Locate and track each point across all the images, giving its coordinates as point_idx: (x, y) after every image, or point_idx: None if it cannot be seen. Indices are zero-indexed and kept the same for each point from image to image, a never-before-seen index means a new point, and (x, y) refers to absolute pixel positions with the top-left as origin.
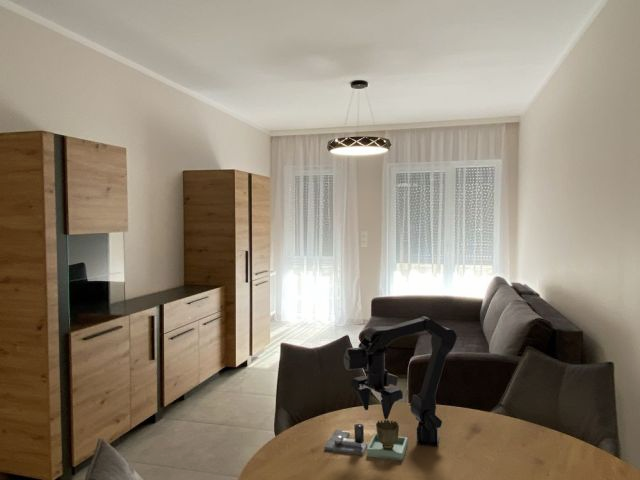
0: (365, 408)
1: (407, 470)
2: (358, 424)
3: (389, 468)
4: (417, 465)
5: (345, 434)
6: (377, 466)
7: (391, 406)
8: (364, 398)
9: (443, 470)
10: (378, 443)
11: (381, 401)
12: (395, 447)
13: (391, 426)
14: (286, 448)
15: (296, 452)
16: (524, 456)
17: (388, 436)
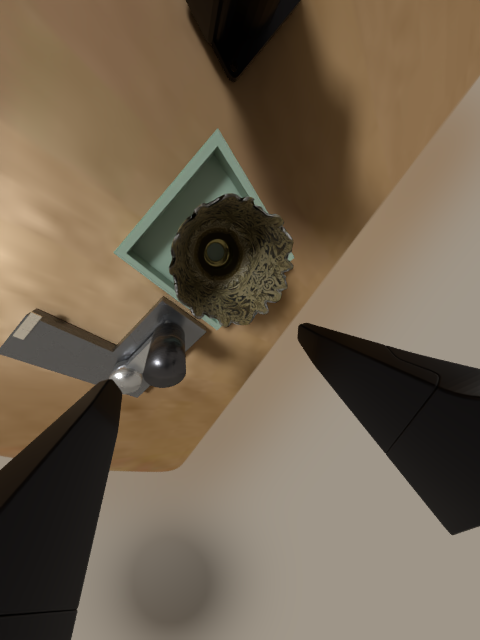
0: (119, 409)
1: (315, 269)
2: (151, 372)
3: (284, 300)
4: (319, 230)
5: (58, 335)
6: (263, 318)
7: (422, 365)
8: (68, 534)
9: (378, 183)
10: (169, 261)
11: (442, 509)
12: None
13: (200, 215)
14: None
15: (129, 430)
16: None
17: (264, 286)
